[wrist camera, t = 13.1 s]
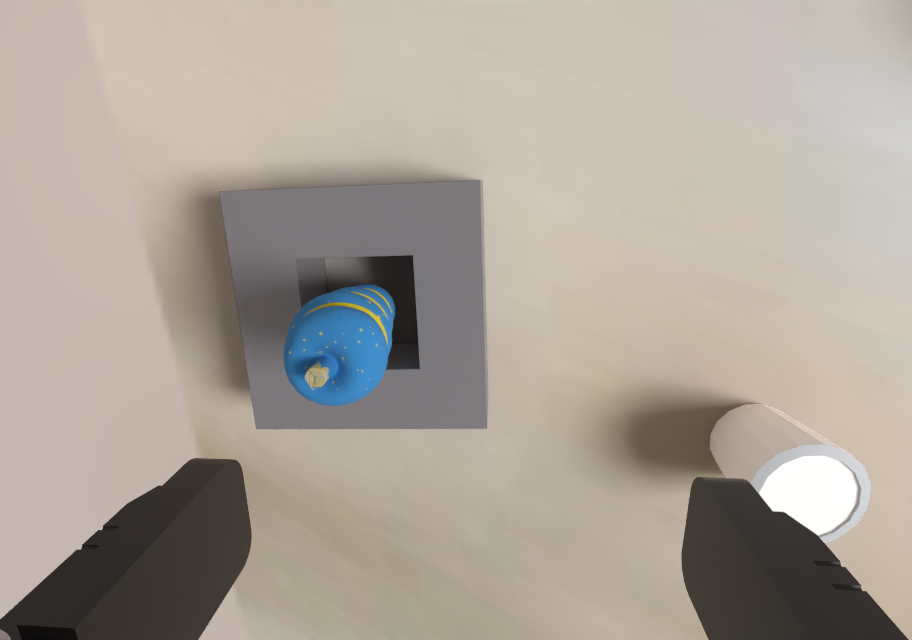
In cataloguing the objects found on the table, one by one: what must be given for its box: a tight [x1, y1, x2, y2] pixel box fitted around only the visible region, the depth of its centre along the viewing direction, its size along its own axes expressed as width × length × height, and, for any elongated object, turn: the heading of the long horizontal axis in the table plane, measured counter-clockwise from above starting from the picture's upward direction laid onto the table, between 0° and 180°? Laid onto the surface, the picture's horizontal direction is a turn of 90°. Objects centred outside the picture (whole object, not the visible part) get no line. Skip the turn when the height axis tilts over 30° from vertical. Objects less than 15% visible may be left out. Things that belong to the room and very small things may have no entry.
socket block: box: [219, 180, 488, 429], centre depth 33 cm, size 15×15×5 cm
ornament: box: [284, 284, 395, 406], centre depth 28 cm, size 5×5×15 cm
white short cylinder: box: [710, 404, 871, 543], centre depth 33 cm, size 7×7×7 cm
